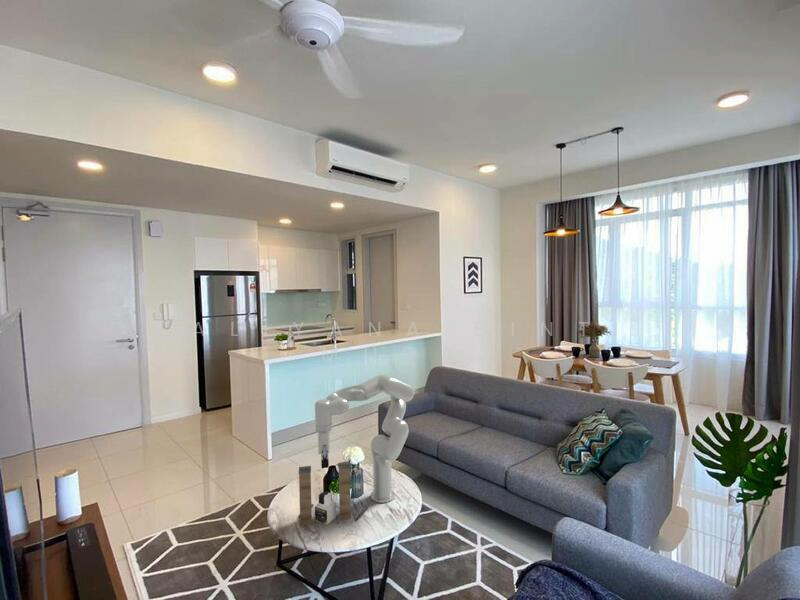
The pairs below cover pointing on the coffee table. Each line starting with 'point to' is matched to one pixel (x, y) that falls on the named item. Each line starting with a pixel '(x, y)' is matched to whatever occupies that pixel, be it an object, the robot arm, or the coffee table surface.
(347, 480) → the post
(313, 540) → the coffee table surface
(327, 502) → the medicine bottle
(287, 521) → the coffee table surface
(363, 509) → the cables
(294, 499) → the coffee table surface
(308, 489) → the post
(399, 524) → the coffee table surface
